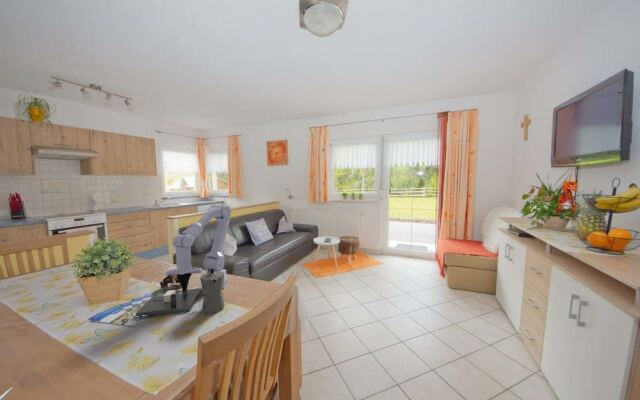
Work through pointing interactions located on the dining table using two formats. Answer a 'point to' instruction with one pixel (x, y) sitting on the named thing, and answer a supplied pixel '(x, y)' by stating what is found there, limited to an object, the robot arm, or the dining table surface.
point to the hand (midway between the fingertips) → (184, 289)
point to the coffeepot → (212, 292)
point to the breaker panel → (160, 307)
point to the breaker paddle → (168, 296)
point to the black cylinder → (173, 300)
